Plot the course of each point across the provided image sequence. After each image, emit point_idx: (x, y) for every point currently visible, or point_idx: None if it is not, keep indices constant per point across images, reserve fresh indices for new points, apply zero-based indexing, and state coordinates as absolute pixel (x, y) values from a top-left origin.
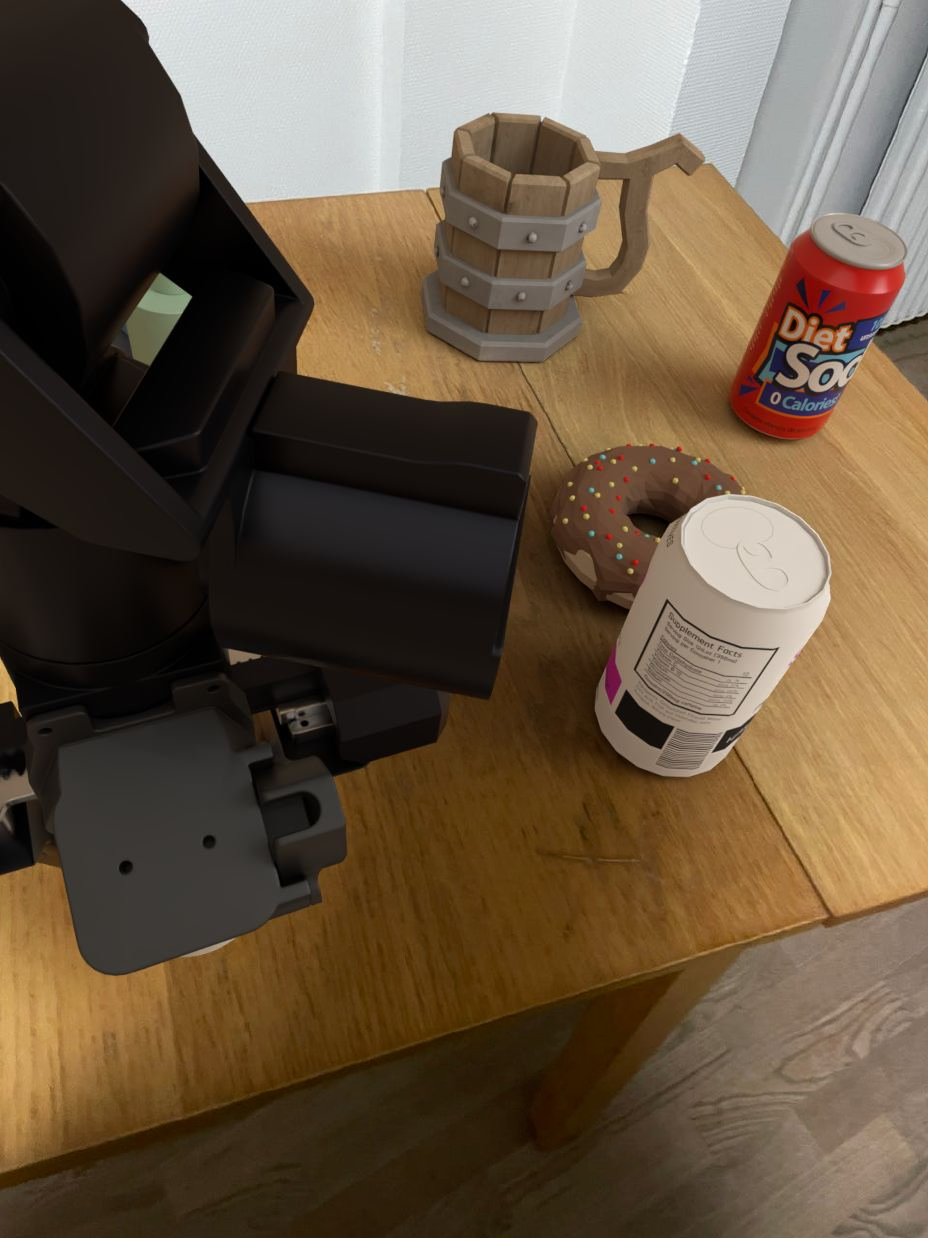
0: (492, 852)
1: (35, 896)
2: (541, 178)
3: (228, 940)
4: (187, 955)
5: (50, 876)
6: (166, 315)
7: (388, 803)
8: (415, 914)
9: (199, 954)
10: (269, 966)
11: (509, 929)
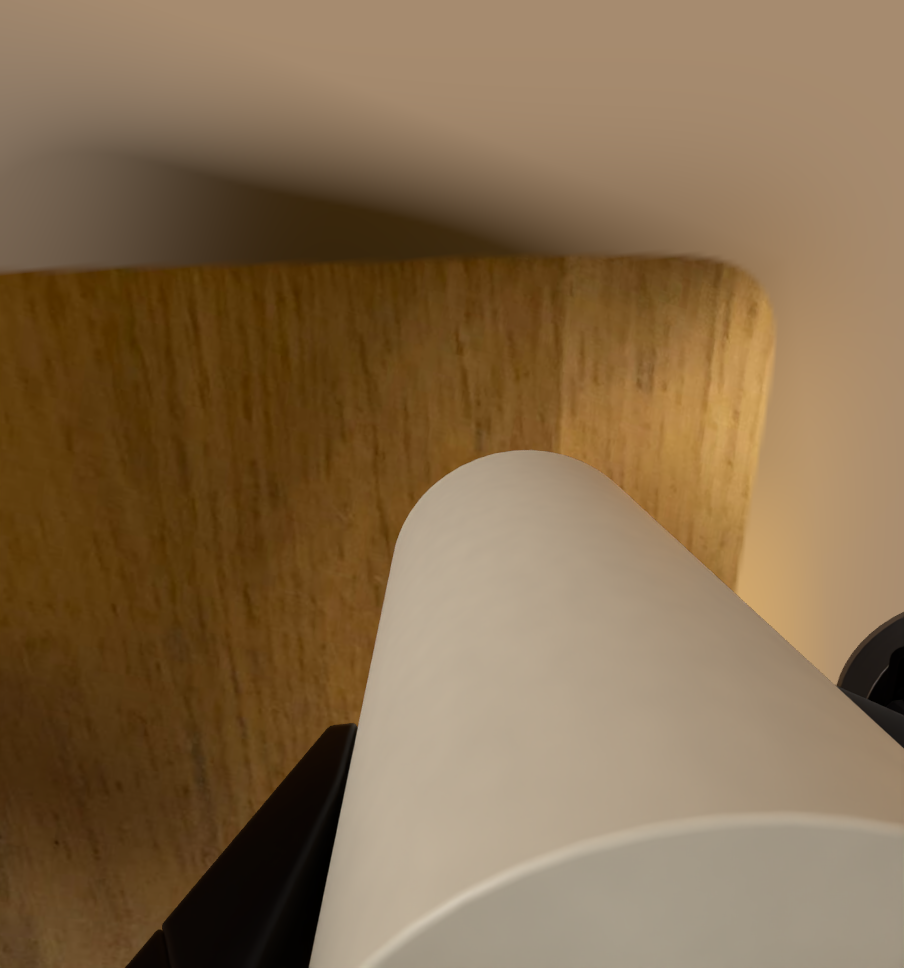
0: (44, 517)
1: None
2: None
3: (476, 463)
4: (549, 454)
5: None
6: None
7: (206, 622)
8: (184, 449)
9: (528, 451)
10: (416, 425)
11: (29, 390)
